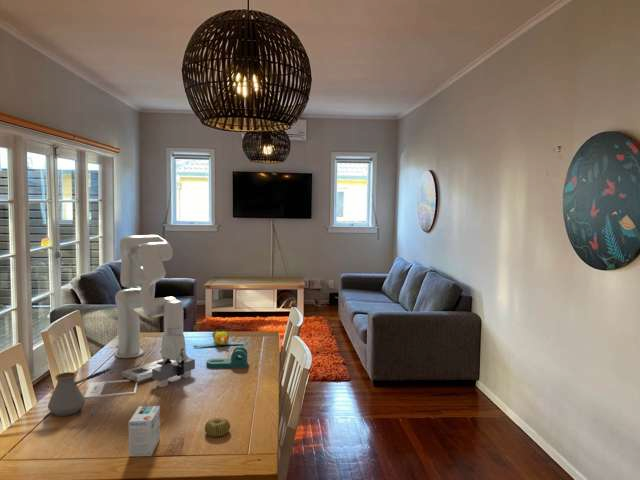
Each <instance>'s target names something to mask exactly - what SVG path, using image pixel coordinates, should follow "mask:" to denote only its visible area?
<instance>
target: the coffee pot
mask: <svg viewBox="0 0 640 480" xmlns="http://www.w3.org/2000/svg"><path fill="white" fill-rule="evenodd" d="M107 372H109V374H110V375H112V374H113V369H112V368H107V369H103V370H101V371H99V372H96V373H93V374H91V375H89V376H87V377H85V378H83V379H82V378H81V379H80V380H78V381H75V378H76V376H77V374H76V372H72V371H71V372H70V371H69V372H62V373H59V374H56V375H55V379H56V381H57V383H56V385H55V388H54V390H53V392H52V394H51V397H50V400H49V401H48V405H47V408H48V410H49V411H50V412H51V413H52V414H54V415H55V416H59V417H64V416H70V415H74V414H76V413H77V412H79V410H80V409H81V408H83V406H84V404H85V400H86V398H84V396H83V394H82V392H81V390H80V388H79V386H78V384H81V383H83V382H85V381H88V380H91V379H94V378H96V377H100V376H101V375H103V374H106V373H107Z"/></svg>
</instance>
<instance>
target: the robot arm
mask: <svg viewBox="0 0 640 480" xmlns="http://www.w3.org/2000/svg"><path fill="white" fill-rule="evenodd" d="M118 248H119V253H120V257H121V263H120V264H121V265H120V284H121V286H122V287H124V289H121V290H118V291H117V292H116V294H115V296H114V297H115V298H114V301H115V305H116V306H115V307H116V311H117V312H116V313H117V335H118V336H117V337H118V343H117V344H115V348H116V349H117V351H116V352H115V353H114V355H115V357H116V358H118V359H133V358H138V357H140V356H142V355H143V354H144V350H143V349H142V348H141V331H140V329H141V328H140V324H141V323H140V321H141V320H140V316H139V314H138V313H137V312H136V311H135V309H138V308H139V309H140V308H142V310H143V314H145V316H146V317H148V318H157V317H163V330H164V331H163V334H162V338H161V346H160V347H161V350H160V351H159V353H160V355H161V359H163V362H164V365H166V364H169V363H172V361H170V360H174V361H177V364H178V366H177V375H176V376H177V377H181V375H183V374H184V365H185V363H186V362H187V360H188V359H189V358H190V357H189V356H188V354H187V353H186V341H185V335H184V334H185V333H184V303H183V301H182V300H179V299H177V298H176V297H174V296H166V297H164V296H163V297H155V296H156V295H155V294H156V284H157V283H158V282H159V281H161V280H163V279H164V278H165V277H166V275H167V273H166V270H165V267H164V264H163V263H164V262H163V261H169V260H171V259H172V258H173V254H174V253H173V248H172V245H171V244H170V243H169V242H168V241H167V240H166V239H165V238H163V237H161V236H159V235H158V234H143V235H142V234H141V235H126V236H123V237H121V239H120V241H119V245H118ZM179 360H181V362H180V361H179Z"/></svg>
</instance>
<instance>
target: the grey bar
mask: <svg viewBox="0 0 640 480" xmlns="http://www.w3.org/2000/svg"><path fill="white" fill-rule="evenodd" d="M188 358H189V359H188V360H187V362H186V363H185V365H184V374H183V375H181V376H180V378H184V379H188V378H190V377H192V370H194V369H196V360H195V359H194V358H191V357H188ZM179 361H180V362H181V360H179ZM177 366H178V364H177V361H175V362H172V363H169V364H166V365H163V366H160V367H157V368H154V369H152V379H151V380H155V381H156V386H157V387H160V388H163V387H166V386H168V385H169V379H170V378H173V377H176V376H177Z"/></svg>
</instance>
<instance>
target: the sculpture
mask: <svg viewBox="0 0 640 480" xmlns="http://www.w3.org/2000/svg"><path fill="white" fill-rule="evenodd" d="M230 429H231V424H230V422H229V420H228V419H226V418H224V417H214V418H211V419H209V420H208V421H207V422H206V423H205V424H204V432H205V433H206V435H208V436H210V437H213V438H216V437H222V436H225V435H227V434H228V433H229V431H230Z"/></svg>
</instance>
